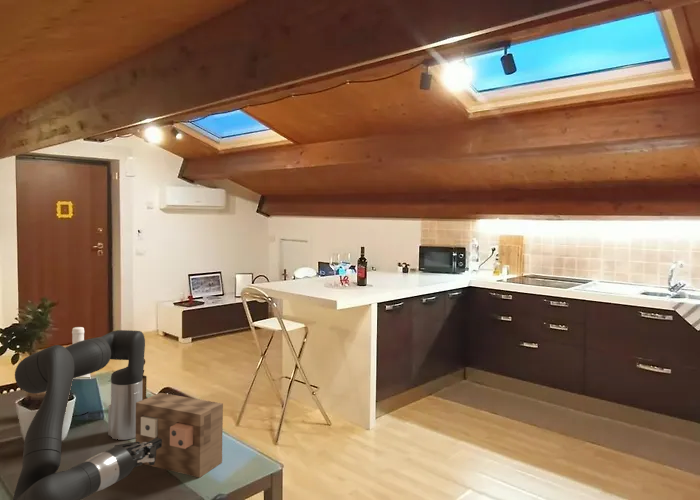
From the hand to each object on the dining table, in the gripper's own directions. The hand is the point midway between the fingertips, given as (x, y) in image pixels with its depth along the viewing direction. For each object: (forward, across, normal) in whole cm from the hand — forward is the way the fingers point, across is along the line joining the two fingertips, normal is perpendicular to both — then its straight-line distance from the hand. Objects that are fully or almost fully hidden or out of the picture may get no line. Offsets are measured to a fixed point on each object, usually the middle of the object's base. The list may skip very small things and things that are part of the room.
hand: (159, 442), depth 138 cm
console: (+12, +4, +11) cm, 17 cm away
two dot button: (+7, -2, +3) cm, 8 cm away
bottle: (+29, +62, +11) cm, 70 cm away
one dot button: (+9, +10, +3) cm, 14 cm away
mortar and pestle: (+43, +48, +11) cm, 65 cm away
